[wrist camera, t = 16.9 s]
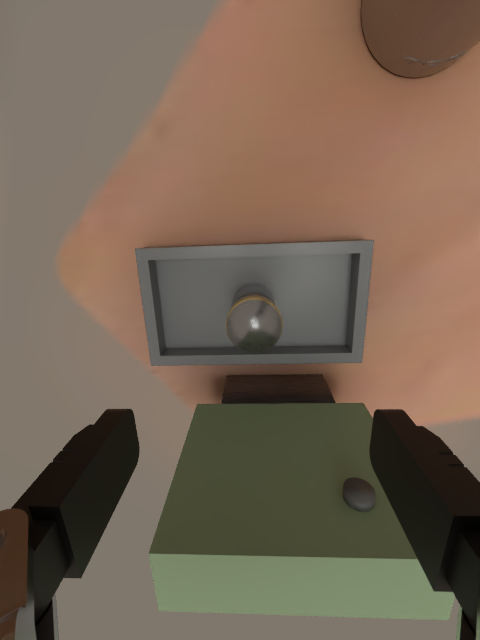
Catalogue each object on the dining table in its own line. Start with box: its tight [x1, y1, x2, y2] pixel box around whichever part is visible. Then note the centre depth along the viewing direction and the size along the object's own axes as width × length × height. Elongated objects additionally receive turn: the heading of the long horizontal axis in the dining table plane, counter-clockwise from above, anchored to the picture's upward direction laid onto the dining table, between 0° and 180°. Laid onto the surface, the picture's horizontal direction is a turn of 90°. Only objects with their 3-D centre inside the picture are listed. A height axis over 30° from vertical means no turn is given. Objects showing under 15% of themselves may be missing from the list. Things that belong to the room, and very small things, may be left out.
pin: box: [226, 284, 283, 353], centre depth 24 cm, size 4×4×7 cm
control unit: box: [149, 375, 455, 620], centre depth 22 cm, size 5×14×18 cm, turn 92°
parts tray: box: [135, 240, 374, 366], centre depth 27 cm, size 11×20×2 cm, turn 92°
